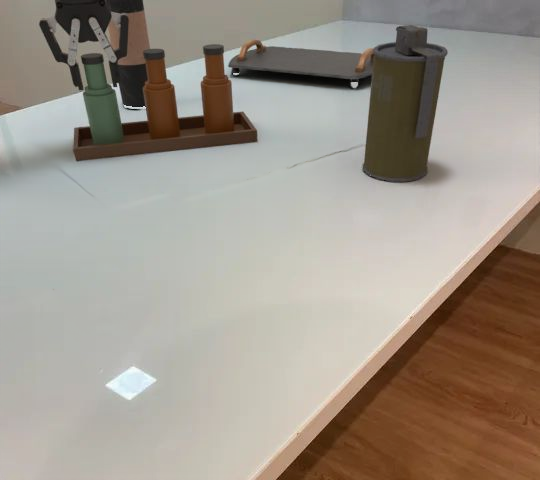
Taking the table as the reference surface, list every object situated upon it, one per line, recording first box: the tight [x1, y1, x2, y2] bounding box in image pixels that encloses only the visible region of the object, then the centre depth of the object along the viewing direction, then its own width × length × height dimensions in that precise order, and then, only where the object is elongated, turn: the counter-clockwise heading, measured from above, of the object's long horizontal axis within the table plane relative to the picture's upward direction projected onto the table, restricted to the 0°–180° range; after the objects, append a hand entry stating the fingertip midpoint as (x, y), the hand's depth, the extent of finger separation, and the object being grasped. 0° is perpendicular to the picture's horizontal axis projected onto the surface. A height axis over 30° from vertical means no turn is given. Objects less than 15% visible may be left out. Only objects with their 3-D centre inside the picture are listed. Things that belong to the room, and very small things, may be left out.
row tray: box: [72, 111, 258, 162], centre depth 101 cm, size 32×12×3 cm, turn 104°
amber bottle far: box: [200, 43, 234, 134], centre depth 98 cm, size 5×5×14 cm
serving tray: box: [227, 38, 375, 82], centre depth 137 cm, size 39×23×6 cm, turn 64°
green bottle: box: [80, 52, 125, 145], centre depth 95 cm, size 5×5×14 cm
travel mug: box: [106, 0, 151, 107], centre depth 114 cm, size 8×8×20 cm
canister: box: [362, 24, 449, 183], centre depth 84 cm, size 11×10×20 cm
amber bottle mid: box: [143, 48, 180, 140], centre depth 97 cm, size 5×5×14 cm
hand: (98, 87), depth 93 cm, fingers open, 5 cm apart
